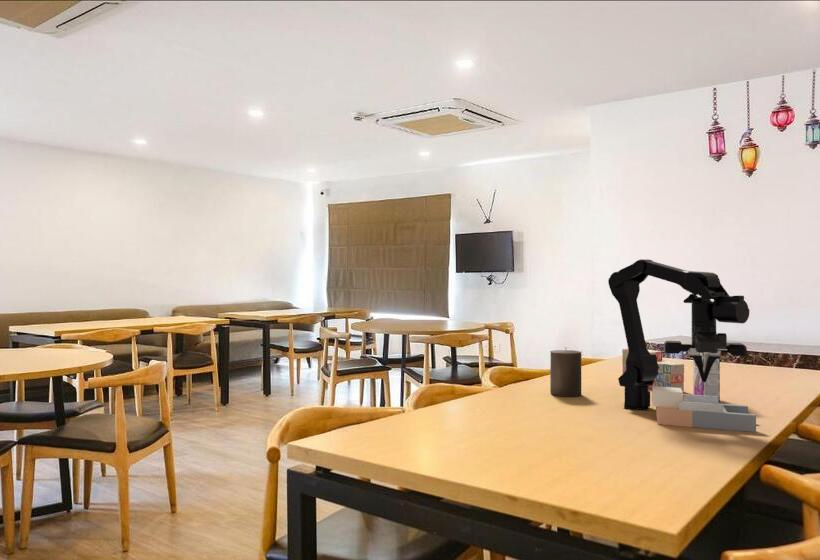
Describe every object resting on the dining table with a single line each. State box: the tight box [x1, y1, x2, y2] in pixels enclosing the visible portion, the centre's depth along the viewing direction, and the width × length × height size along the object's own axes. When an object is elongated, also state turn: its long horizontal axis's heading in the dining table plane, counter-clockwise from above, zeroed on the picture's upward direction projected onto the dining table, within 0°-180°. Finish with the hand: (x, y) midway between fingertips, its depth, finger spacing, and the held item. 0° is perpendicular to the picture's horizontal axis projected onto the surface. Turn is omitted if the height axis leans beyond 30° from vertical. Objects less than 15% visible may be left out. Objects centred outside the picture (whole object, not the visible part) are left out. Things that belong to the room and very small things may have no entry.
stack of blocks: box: [621, 348, 685, 393], centre depth 204 cm, size 21×6×12 cm, turn 24°
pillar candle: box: [549, 347, 582, 398], centre depth 191 cm, size 10×10×15 cm
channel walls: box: [679, 393, 724, 413], centre depth 155 cm, size 10×11×2 cm
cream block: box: [651, 386, 684, 408], centre depth 157 cm, size 7×7×4 cm
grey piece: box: [655, 403, 757, 433], centre depth 154 cm, size 22×12×4 cm, turn 70°
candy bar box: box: [692, 352, 721, 404], centre depth 182 cm, size 11×5×16 cm, turn 168°
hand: (703, 381), depth 154 cm, fingers closed
